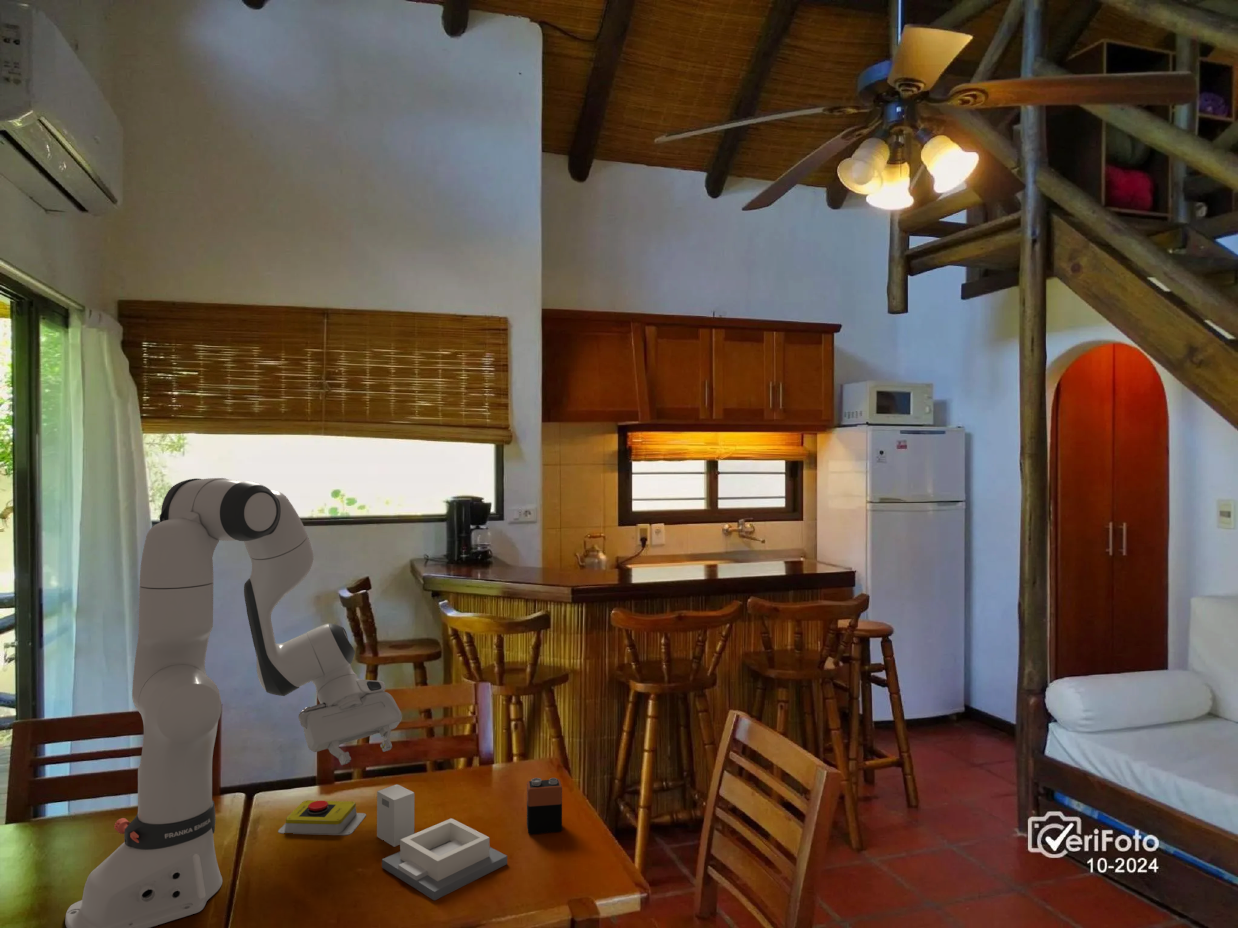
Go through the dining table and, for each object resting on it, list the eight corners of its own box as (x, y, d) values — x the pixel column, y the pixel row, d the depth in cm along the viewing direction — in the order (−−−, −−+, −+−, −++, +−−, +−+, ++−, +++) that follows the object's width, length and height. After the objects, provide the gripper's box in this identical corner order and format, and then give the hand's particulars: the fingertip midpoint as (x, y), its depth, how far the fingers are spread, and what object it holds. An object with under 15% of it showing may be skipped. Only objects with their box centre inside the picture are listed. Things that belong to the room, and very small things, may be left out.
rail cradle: (434, 900, 132) (434, 870, 132) (381, 867, 143) (382, 839, 143) (507, 863, 144) (507, 836, 144) (453, 835, 155) (454, 810, 155)
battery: (526, 824, 160) (526, 775, 159) (559, 822, 161) (560, 773, 161) (528, 835, 155) (528, 784, 155) (562, 832, 157) (562, 782, 156)
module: (393, 846, 150) (394, 800, 150) (376, 836, 154) (376, 791, 154) (414, 838, 154) (414, 792, 154) (397, 828, 158) (397, 783, 158)
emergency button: (297, 793, 165) (367, 795, 164) (297, 814, 165) (367, 816, 164) (276, 813, 156) (350, 815, 155) (276, 835, 156) (350, 837, 155)
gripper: (300, 701, 158) (325, 762, 152) (390, 679, 173) (415, 734, 167) (290, 718, 161) (314, 779, 155) (379, 695, 176) (403, 750, 170)
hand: (367, 755), depth 161 cm, fingers open, 8 cm apart
